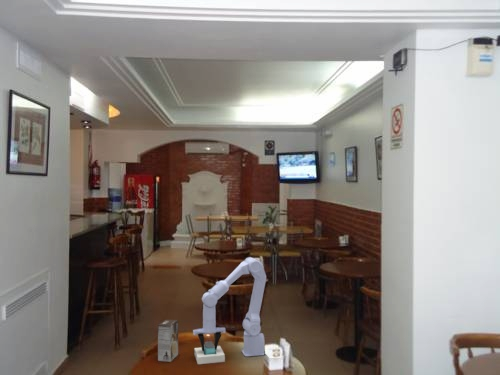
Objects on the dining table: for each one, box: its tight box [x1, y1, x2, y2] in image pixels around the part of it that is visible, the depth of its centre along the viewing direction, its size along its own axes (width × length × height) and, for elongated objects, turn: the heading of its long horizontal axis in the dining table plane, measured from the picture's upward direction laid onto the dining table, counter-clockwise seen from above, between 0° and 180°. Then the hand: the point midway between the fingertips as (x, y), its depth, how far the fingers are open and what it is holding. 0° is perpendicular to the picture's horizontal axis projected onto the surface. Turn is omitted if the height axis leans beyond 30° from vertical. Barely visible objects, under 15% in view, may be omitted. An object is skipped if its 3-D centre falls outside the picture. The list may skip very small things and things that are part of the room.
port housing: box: [193, 345, 226, 365], centre depth 197 cm, size 12×12×3 cm
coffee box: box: [157, 319, 179, 363], centre depth 197 cm, size 9×6×16 cm
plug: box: [204, 340, 215, 355], centre depth 197 cm, size 4×6×6 cm, turn 14°
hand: (209, 349), depth 197 cm, fingers open, 5 cm apart
